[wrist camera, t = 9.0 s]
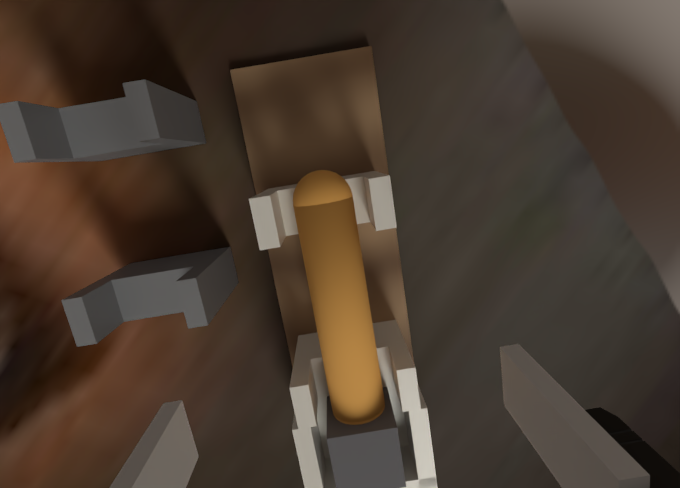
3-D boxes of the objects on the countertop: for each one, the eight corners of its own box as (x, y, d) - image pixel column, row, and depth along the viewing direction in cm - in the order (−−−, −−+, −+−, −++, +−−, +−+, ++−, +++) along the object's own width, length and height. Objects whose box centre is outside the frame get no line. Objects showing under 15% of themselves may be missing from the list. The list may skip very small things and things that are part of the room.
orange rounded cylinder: (284, 174, 25) (275, 178, 21) (352, 163, 25) (357, 165, 21) (336, 447, 29) (338, 497, 25) (394, 438, 29) (406, 486, 25)
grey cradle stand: (88, 119, 29) (-6, 104, 20) (196, 101, 28) (144, 79, 20) (140, 298, 32) (77, 346, 24) (238, 282, 32) (207, 325, 24)
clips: (263, 189, 29) (241, 200, 22) (379, 169, 29) (396, 174, 22) (314, 436, 34) (310, 512, 27) (414, 420, 34) (437, 491, 27)
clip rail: (232, 72, 28) (229, 69, 27) (370, 48, 28) (371, 45, 27) (307, 431, 35) (307, 437, 34) (419, 413, 35) (421, 418, 34)
